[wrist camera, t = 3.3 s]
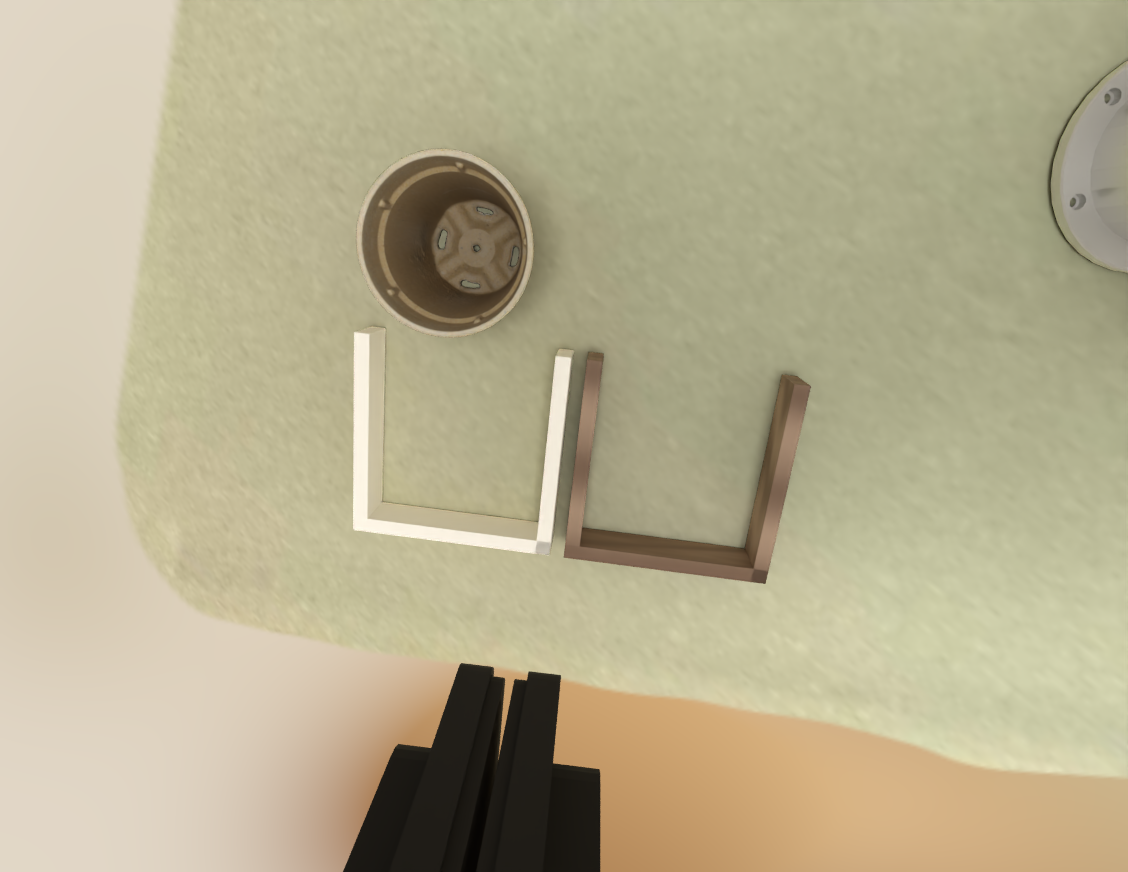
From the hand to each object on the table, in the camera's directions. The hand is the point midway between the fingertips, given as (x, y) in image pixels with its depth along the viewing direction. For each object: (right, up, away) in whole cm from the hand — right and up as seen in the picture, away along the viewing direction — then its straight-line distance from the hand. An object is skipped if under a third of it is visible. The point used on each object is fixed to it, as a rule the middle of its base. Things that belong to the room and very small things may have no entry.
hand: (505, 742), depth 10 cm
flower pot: (-5, +17, +31) cm, 36 cm away
